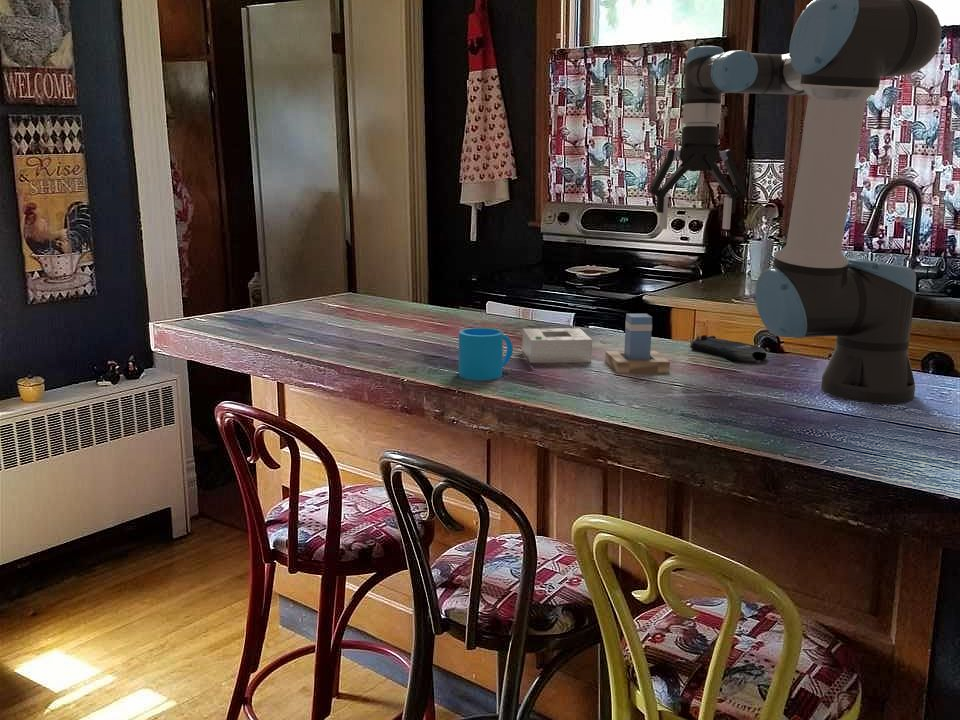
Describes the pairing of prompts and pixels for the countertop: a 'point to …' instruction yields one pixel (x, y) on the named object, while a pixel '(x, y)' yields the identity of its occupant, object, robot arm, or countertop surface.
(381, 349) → the countertop surface
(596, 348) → the countertop surface
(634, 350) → the plug
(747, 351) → the electronic device
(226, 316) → the countertop surface
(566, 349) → the port block
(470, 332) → the mug
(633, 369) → the tan flat square frame
